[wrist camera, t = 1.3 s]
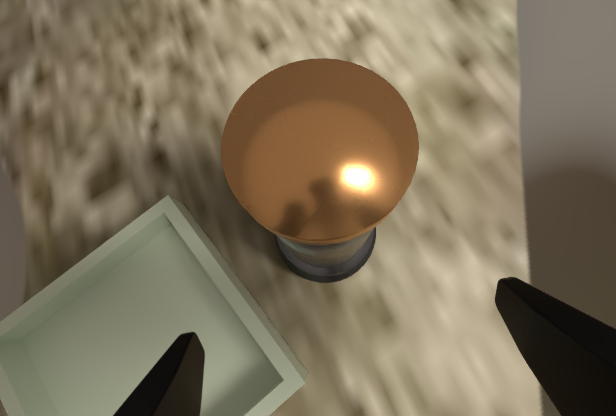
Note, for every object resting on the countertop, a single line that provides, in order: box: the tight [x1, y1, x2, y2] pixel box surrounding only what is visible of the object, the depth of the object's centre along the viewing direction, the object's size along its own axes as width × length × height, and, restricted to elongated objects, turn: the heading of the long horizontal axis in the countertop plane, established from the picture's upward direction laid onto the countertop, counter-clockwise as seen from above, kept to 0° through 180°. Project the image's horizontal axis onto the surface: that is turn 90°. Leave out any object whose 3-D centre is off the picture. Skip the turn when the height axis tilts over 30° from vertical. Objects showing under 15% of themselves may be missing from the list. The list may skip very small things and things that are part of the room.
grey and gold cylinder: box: [221, 59, 419, 277], centre depth 15 cm, size 6×6×12 cm
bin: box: [0, 195, 308, 416], centre depth 19 cm, size 14×14×2 cm
